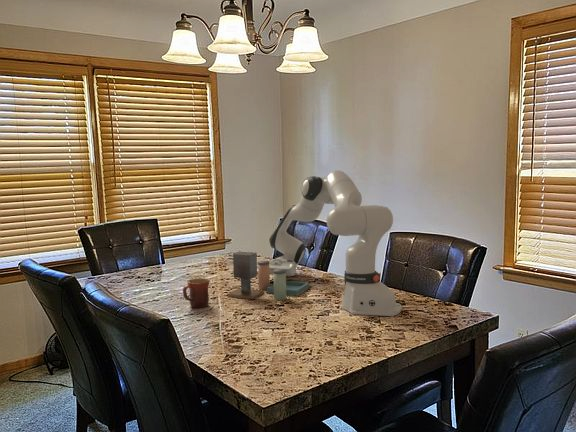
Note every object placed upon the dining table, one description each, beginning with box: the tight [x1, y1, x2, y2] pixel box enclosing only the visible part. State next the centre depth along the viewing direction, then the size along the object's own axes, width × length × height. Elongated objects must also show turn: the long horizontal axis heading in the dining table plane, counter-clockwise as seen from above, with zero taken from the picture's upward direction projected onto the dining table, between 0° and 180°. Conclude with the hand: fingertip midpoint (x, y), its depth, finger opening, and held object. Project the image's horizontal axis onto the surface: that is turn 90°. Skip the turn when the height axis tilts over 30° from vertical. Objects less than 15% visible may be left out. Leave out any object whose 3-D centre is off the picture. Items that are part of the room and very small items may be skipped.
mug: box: [182, 277, 211, 309], centre depth 188 cm, size 12×9×10 cm
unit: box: [227, 251, 265, 301], centre depth 203 cm, size 12×10×18 cm
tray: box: [266, 280, 310, 297], centre depth 210 cm, size 14×14×2 cm
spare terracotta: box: [257, 260, 271, 290], centre depth 215 cm, size 5×5×12 cm
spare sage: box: [273, 269, 287, 301], centre depth 197 cm, size 5×5×12 cm
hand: (266, 273), depth 216 cm, fingers open, 8 cm apart
